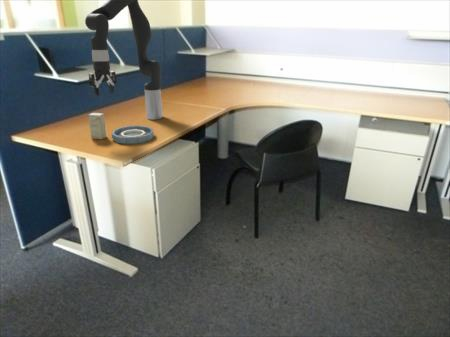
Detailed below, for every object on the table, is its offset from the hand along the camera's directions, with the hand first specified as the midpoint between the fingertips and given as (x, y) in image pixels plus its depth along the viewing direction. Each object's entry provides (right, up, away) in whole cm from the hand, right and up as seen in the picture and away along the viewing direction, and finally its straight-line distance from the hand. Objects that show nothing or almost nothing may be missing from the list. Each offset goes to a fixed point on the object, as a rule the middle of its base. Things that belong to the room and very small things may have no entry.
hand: (104, 94), depth 169 cm
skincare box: (-4, -21, +4) cm, 22 cm away
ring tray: (+13, -21, +5) cm, 25 cm away
